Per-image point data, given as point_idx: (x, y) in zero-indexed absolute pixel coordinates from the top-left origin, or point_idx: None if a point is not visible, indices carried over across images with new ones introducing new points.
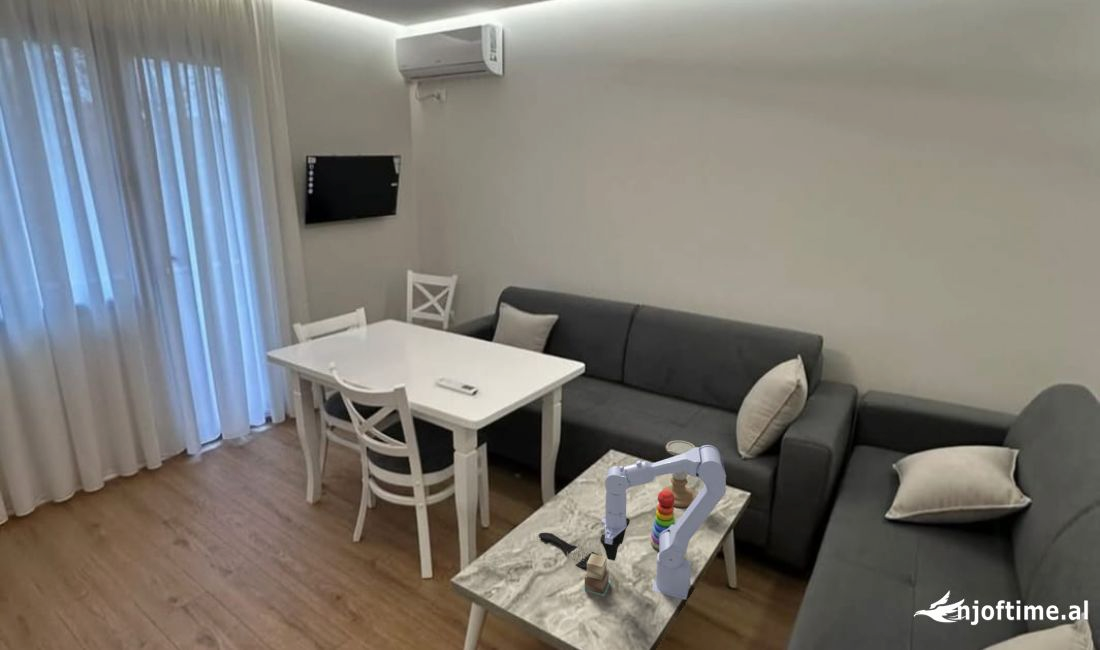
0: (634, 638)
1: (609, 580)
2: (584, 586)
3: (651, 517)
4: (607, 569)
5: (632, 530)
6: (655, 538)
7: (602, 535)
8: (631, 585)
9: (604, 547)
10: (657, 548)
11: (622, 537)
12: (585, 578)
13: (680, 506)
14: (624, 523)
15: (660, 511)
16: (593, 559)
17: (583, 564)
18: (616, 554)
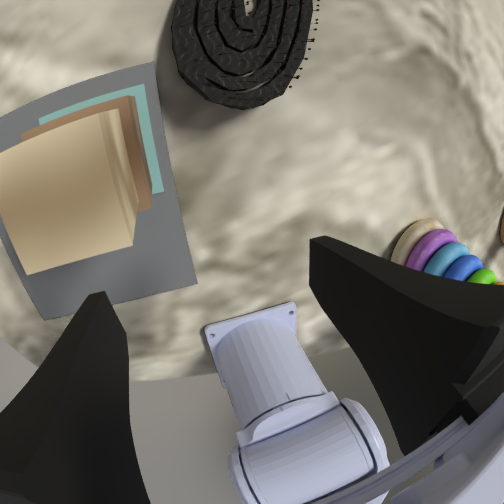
0: (27, 354)
1: (159, 185)
2: (62, 112)
3: (484, 180)
4: (148, 202)
5: (448, 147)
6: (421, 259)
7: (18, 498)
8: (194, 262)
9: (22, 394)
10: (394, 254)
11: (340, 324)
12: (24, 137)
13: (501, 226)
14: None
15: None
16: (41, 176)
17: (197, 27)
18: (124, 381)
